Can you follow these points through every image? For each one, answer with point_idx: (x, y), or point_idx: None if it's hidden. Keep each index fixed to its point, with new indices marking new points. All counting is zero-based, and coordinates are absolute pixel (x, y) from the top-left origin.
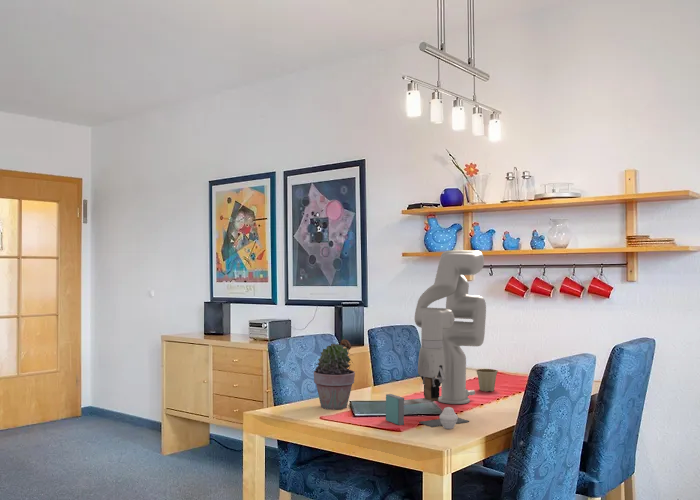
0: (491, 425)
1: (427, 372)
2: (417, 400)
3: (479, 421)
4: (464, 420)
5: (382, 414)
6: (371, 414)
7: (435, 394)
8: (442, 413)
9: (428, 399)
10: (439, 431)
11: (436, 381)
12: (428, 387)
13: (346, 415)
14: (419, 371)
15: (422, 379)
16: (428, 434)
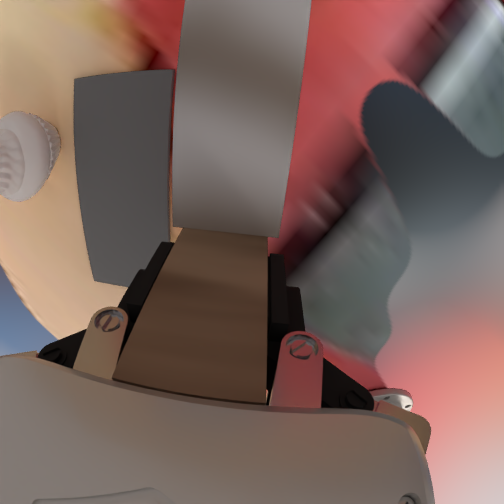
0: (46, 294)
1: (85, 451)
2: (225, 118)
3: (96, 309)
4: (103, 273)
5: (450, 68)
6: (473, 36)
7: (137, 273)
8: (4, 130)
9: (210, 230)
10: (24, 76)
11: (59, 355)
12: (189, 296)
13: None
14: (375, 464)
15: (351, 384)
16: (20, 18)
